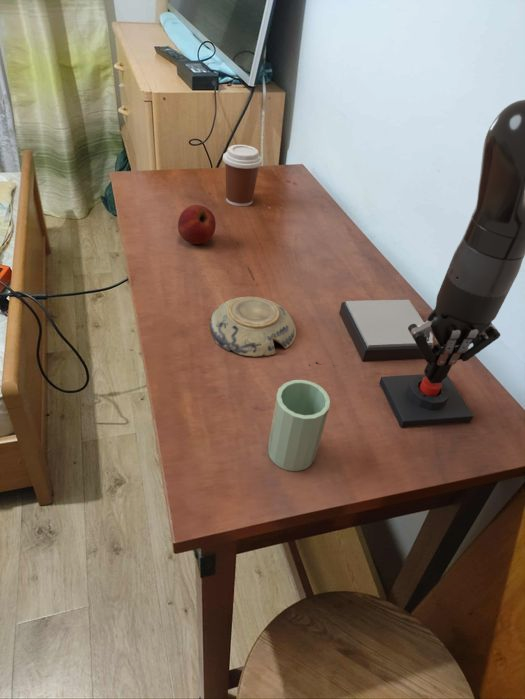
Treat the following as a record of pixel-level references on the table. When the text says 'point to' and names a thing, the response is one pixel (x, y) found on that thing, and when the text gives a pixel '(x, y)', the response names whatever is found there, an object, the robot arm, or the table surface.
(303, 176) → the table surface
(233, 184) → the coffee cup
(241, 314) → the decorative bowl
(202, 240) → the apple
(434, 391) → the button
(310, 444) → the cup
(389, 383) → the panel
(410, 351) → the scale
